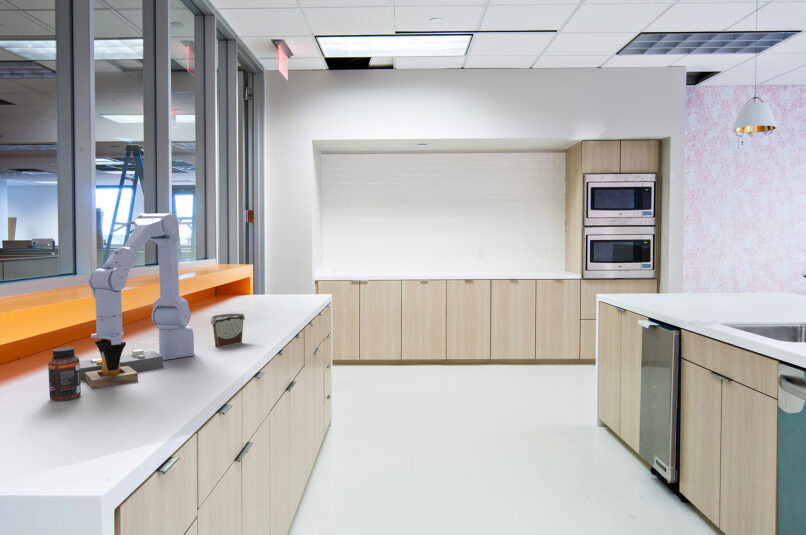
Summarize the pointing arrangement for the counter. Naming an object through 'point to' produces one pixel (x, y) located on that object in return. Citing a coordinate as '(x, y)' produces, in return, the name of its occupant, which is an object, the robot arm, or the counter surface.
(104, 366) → the cap
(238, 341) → the food container
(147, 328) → the counter surface
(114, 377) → the frame
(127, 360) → the breaker panel
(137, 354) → the block
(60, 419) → the counter surface
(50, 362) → the supplement bottle
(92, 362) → the white cube
